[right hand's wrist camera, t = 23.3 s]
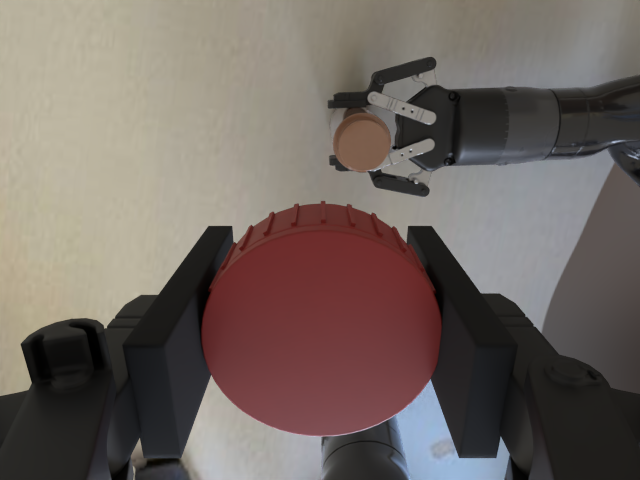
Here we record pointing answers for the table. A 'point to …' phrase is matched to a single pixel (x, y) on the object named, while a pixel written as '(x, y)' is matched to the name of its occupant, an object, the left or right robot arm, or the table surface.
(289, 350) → the lid
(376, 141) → the jar
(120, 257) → the table surface
